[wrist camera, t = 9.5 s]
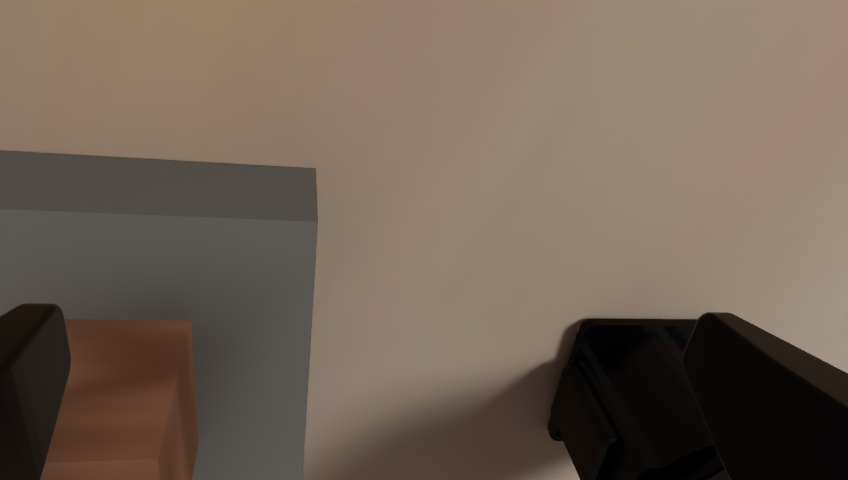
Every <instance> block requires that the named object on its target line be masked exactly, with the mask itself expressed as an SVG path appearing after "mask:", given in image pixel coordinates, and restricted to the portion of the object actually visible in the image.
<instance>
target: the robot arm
mask: <svg viewBox="0 0 848 480" xmlns="http://www.w3.org/2000/svg"><path fill="white" fill-rule="evenodd" d="M593 330H596V331H595V332H593V333H590V332H592V331H593ZM70 367H71V353H70V348H69V342H68V337H67V331H66V326H65V320H64V315H63V312H62V310H61V308H60V307H59V306H58V305H56V304H52V303H24V304H21V305H19V306H17V307H15V308H13V309H12V310H10V311H8V312H7V313H5V314H3V315H2V316H0V480H40V479H41V475H42V472H43V469H44V465H45V462H46V458H47V454H48V451H49V447H50V443H51V440H52V436H53V432H54V429H55V425H56V421H57V418H58V414H59V410H60V406H61V403H62V399H63V395H64V392H65V388H66V384H67V381H68V377H69V373H70ZM547 430H548V432H549V434H550V437H551V438H552V439H553V440H555V441H564V444H565V446H566V448H567V450H568V453H569V455H570V457H571V459H572V462H573V464H574V466H575V469H576V471H577V473H578V475H579V478H580V480H848V373H846V372H844V371H842V370H840V369H838V368H836V367H834V366H832V365H830V364H828V363H826V362H824V361H822V360H821V359H819V358H817V357H815V356H813V355H811V354H809V353H807V352H805V351H803V350H801V349H799V348H797V347H795V346H794V345H792V344H790V343H788V342H786V341H784V340H782V339H780V338H778V337H776V336H774V335H772V334H770V333H768V332H766V331H765V330H763V329H761V328H759V327H757V326H755V325H753V324H751V323H749V322H747V321H745V320H743V319H741V318H739V317H738V316H736V315H734V314H731V313H720V312H708V313H705V314H703V315H702V316H701V317H699V319H698V320H662V319H590V320H587V321H585V322H584V323H583V324H582V325H581V326H580V328H579V331H578V334H577V337H576V340H575V343H574V346H573V349H572V353H571V356H570V359H569V362H568V365H567V366H566V367H565V369H564V370H563V373H562V376H561V379H560V382H559V385H558V388H557V392H556V395H555V398H554V401H553V404H552V407H551V417H550V420H549V423H548V427H547Z"/></svg>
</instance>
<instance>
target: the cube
mask: <svg viewBox="0 0 848 480" xmlns="http://www.w3.org/2000/svg"><path fill="white" fill-rule="evenodd" d="M64 320H65V326H66V331H67V337H68V342H69V348H70V353H71V367H70V373H69V377H68V381H67V384H66V388H65V392H64V395H63V399H62V403H61V406H60V410H59V414H58V418H57V421H56V425H55V429H54V432H53V436H52V440H51V443H50V447H49V451H48V454H47V458H46V462H45V465H44V469H43V472H42V475H41V479H40V480H192V477H193V471H194V465H195V460H196V454H197V449H198V443H199V436H198V420H197V404H196V388H195V372H194V356H193V340H192V324H191V320H84V319H64Z"/></svg>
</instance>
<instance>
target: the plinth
mask: <svg viewBox="0 0 848 480" xmlns="http://www.w3.org/2000/svg"><path fill="white" fill-rule="evenodd" d="M317 226H318V215H317V189H316V169H314V168H297V167H279V166H262V165H244V164H227V163H210V162H192V161H175V160H158V159H140V158H123V157H105V156H88V155H71V154H53V153H36V152H18V151H1V150H0V316H2V315H3V314H5V313H7V312H8V311H10V310H12V309H13V308H15V307H17V306H19V305H21V304H24V303H52V304H56V305H58V306H59V307H60V308H61V310H62V312H63V315H64V319H84V320H191V324H192V340H193V356H194V372H195V388H196V404H197V420H198V436H199V443H198V449H197V454H196V460H195V465H194V471H193V477H192V480H302V476H303V459H304V443H305V426H306V409H307V393H308V376H309V359H310V343H311V326H312V309H313V293H314V276H315V260H316V243H317Z"/></svg>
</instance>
